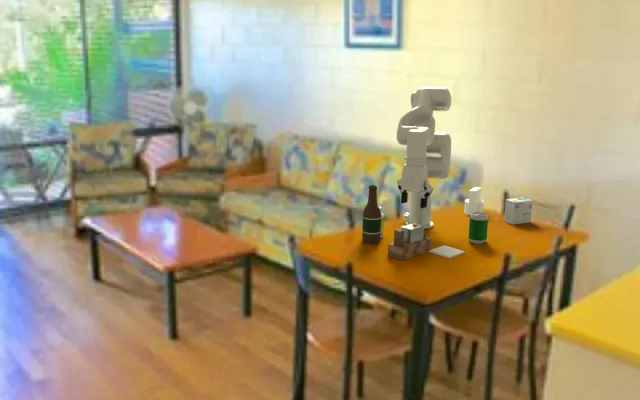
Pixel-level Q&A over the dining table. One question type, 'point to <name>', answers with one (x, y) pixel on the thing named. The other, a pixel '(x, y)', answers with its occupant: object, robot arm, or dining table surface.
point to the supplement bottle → (381, 222)
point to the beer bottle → (371, 218)
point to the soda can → (478, 228)
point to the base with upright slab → (474, 202)
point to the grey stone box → (413, 233)
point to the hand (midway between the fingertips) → (413, 205)
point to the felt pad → (446, 251)
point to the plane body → (407, 246)
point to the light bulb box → (518, 210)
